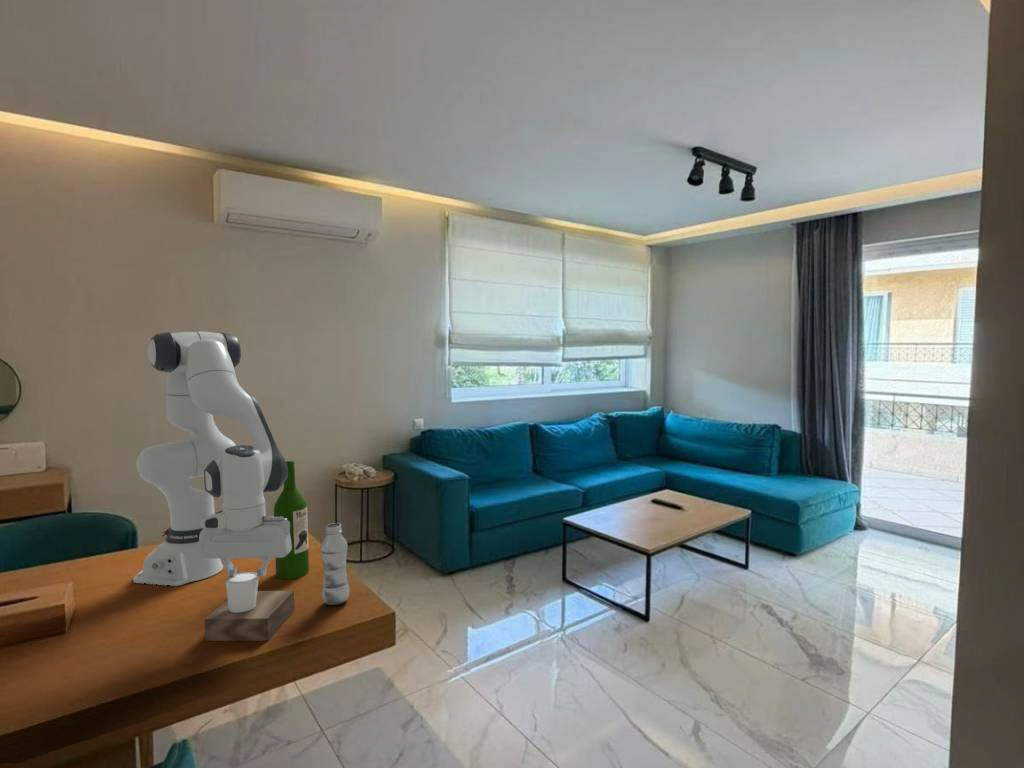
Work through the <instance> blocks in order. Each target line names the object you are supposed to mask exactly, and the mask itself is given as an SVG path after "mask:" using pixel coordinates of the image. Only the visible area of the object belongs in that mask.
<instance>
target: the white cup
mask: <svg viewBox="0 0 1024 768" xmlns="http://www.w3.org/2000/svg"><path fill="white" fill-rule="evenodd" d="M259 579H260V576H257V572H252V571H250V572H249V571H246V572H239V573H237V575H236V576H235V577H228V576H227V578H226V579H225V585H226V596H227V600H228V607H229V611H230V612H234V613H240V612H246V611H249V610H251V609H253V608H254V607H255V606H256V599H257V591H258V589H259V588H258V587H259Z"/></svg>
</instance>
